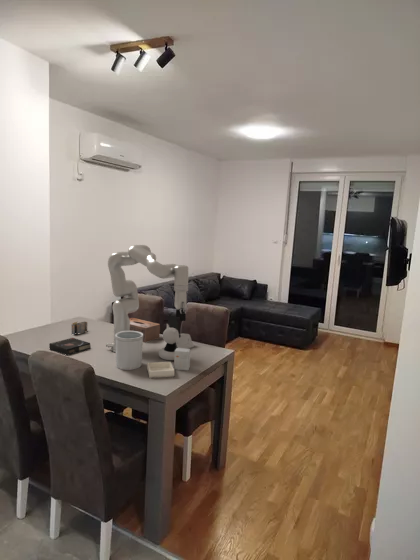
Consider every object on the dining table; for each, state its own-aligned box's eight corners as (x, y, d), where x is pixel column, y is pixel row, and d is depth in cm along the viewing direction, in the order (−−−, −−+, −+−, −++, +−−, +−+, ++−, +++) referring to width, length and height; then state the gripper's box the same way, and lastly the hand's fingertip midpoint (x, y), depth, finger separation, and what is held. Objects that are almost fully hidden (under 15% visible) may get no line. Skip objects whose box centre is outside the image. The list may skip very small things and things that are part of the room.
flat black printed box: (67, 356, 213) (67, 349, 213) (49, 350, 222) (49, 343, 222) (90, 349, 227) (90, 343, 226) (72, 343, 236) (72, 337, 236)
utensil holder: (136, 371, 194) (137, 339, 192) (110, 368, 197) (110, 336, 195) (146, 362, 209) (147, 332, 206) (121, 359, 211) (122, 329, 209)
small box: (190, 367, 205) (190, 348, 204) (188, 370, 199) (189, 351, 198) (175, 365, 206) (176, 347, 204) (173, 369, 200) (174, 350, 199)
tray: (149, 378, 187) (149, 371, 186) (146, 369, 199) (147, 362, 198) (174, 376, 190) (174, 370, 190) (170, 367, 202) (170, 361, 202)
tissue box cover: (117, 335, 259) (117, 321, 257) (132, 331, 271) (132, 317, 269) (145, 342, 245) (145, 328, 243) (159, 338, 257) (159, 324, 255)
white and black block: (176, 352, 229) (173, 336, 230) (171, 352, 232) (168, 336, 233) (194, 346, 242) (191, 331, 243) (189, 347, 245) (186, 332, 246)
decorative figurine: (188, 358, 219) (190, 325, 216) (168, 363, 209) (170, 329, 206) (173, 351, 229) (174, 320, 227) (153, 356, 219) (154, 323, 217)
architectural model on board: (74, 336, 252) (74, 322, 251) (71, 335, 254) (71, 321, 252) (87, 332, 262) (87, 319, 261) (84, 331, 263) (84, 318, 262)
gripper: (171, 285, 209) (171, 315, 211) (177, 290, 193) (177, 322, 195) (184, 285, 211) (184, 315, 213) (191, 290, 195) (190, 322, 197)
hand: (180, 318), depth 204 cm, fingers open, 9 cm apart
